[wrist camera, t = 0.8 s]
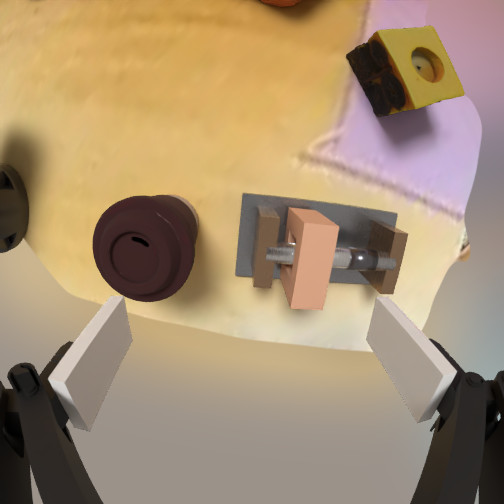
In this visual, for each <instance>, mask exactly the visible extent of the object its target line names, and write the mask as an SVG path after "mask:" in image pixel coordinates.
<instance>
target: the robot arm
mask: <svg viewBox="0 0 504 504" xmlns="http://www.w3.org/2000/svg"><path fill="white" fill-rule="evenodd" d="M27 224H28V200H27V194H26V190H25V187H24V184H23V182H22V180H21V178H20V176H19V175H18V173H17V172H16V171H15V170H14V169H13V168H12V167H10V166H8V165H0V253H3V252H7V251H9V250H11V249H13V248H15V247H16V246H17V245H18V244H19V243H20V242H21V241H22V239H23V237H24V235H25V232H26V229H27ZM366 340H367V342H368V344H369V345H370V347H371V348H372V350H373V351H374V353H375V354H376V356H377V357H378V359H379V361H380V362H381V364H382V366H383V367H384V369H385V370H386V372H387V373H388V375H389V377H390V378H391V380H392V382H393V383H394V385H395V387H396V388H397V390H398V391H399V393H400V395H401V396H402V398H403V400H404V401H405V403H406V405H407V406H408V408H409V410H410V412H411V413H412V415H413V417H414V418H415V420H416V421H417V423H419V422H423V421H426V420H429V419H431V417H432V416H433V414H434V413H435V411H436V409H437V410H438V412H439V413H440V415H439V417H438V418H437V420H436V421H435V423H434V425H433V426H432V428H431V429H430V431H432V430H433V429H434V428H435V430H434V434H433V438H432V441H431V445H430V449H429V452H428V456H427V459H426V463H425V465H424V468H423V471H422V474H421V478H420V480H419V482H418V485H417V488H416V491H415V493H414V496H413V498H412V501H411V503H410V504H474V502H475V498H476V493H477V489H478V486H479V504H504V371H500V372H498V374H497V375H496V377H495V379H494V380H487V381H485V380H484V379H483V378H482V377H481V376H480V375H479V374H477V373H474V372H467V373H465V372H464V371H463V369H462V368H461V367H460V366H459V365H458V364H457V363H456V361H455V360H454V359H453V358H452V357H451V356H449V354H448V353H447V352H446V351H445V349H444V348H443V347H442V346H441V345H440V344H439V343H437V342H436V341H434V340H432V339H428V338H427V337H426V336H425V335H424V334H423V333H422V331H421V330H420V329H419V328H418V327H417V326H416V325H415V324H414V323H413V322H412V321H411V320H410V319H409V318H408V317H407V316H406V314H405V313H404V312H403V311H402V310H401V309H400V308H399V307H398V306H397V305H396V304H395V303H394V302H393V301H392V300H391V299H390V298H389V297H376V301H375V306H374V310H373V314H372V318H371V323H370V327H369V330H368V334H367V338H366ZM132 341H133V340H132V336H131V332H130V326H129V321H128V316H127V311H126V305H125V300H124V296H110V297H109V299H108V300H107V301H106V302H105V304H104V305H103V306H102V307H101V309H100V310H99V311H98V312H97V313H96V315H95V316H94V317H93V318H92V320H91V321H90V322H89V324H88V325H87V326H86V327H85V329H84V330H83V331H82V333H81V334H80V335H79V336H78V338H77V339H76V340H75V342H70V341H69V342H68V343H66V344H65V345H63V346H62V347H60V349H59V350H58V351H57V353H56V355H55V356H53V358H52V359H51V361H50V362H49V363H48V364H47V366H46V367H45V368H44V370H43V371H42V373H41V374H40V375H38V373H37V371H36V369H35V367H34V366H33V365H32V364H31V363H20V364H17V365H15V366H14V367H13V368H11V369H10V371H9V372H8V376H7V378H8V380H9V381H10V384H11V385H12V387H13V389H5V387H4V386H3V384H2V382H1V381H0V504H33V500H32V489H31V477H30V465H31V469H32V472H33V475H34V479H35V482H36V485H37V487H38V490H39V493H40V496H41V499H42V501H43V504H103V502H102V500H101V499H100V497H99V495H98V493H97V491H96V489H95V488H94V486H93V484H92V482H91V480H90V478H89V476H88V474H87V472H86V470H85V468H84V465H83V463H82V461H81V459H80V457H79V454H78V452H77V450H76V447H75V445H74V442H73V440H72V437H71V435H70V432H69V430H68V428H67V426H66V423H67V421H68V419H70V421H71V423H72V424H73V426H74V427H75V428H78V429H82V430H86V431H90V430H91V428H92V425H93V423H94V421H95V418H96V416H97V414H98V412H99V409H100V407H101V405H102V403H103V401H104V398H105V396H106V394H107V392H108V390H109V388H110V386H111V383H112V381H113V379H114V377H115V375H116V373H117V371H118V369H119V367H120V364H121V363H122V360H123V359H124V356H125V355H126V353H127V351H128V349H129V347H130V345H131V343H132ZM499 413H500V415H501V418H500V420H499V421H498V419H497V416H498V415H499Z"/></svg>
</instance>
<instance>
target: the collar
mask: <svg viewBox="0 0 504 504" xmlns="http://www.w3.org/2000/svg"><path fill="white" fill-rule="evenodd" d="M338 231H339V226H338V225H336V224H335V223H334V222H332V221H331V220H329V219H328V218H326V217H325V216H323V215H322V214H321V213H319V212H318V211H316V210H309V209H300V208H291V207H289V210H288V218H287V226H286V233H285V241H284V242H289V243H296V247H295V253H294V260H293V264H281V269H280V278H281V281H282V284H283V287H284V290H285V293H286V296H287V299H288V302H289V305H290V308H291V309H314V310H323V306H324V302H325V297H326V293H327V288H328V283H329V279H330V274H331V269H332V264H333V259H334V253H335V248H336V243H337V237H338Z"/></svg>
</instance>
